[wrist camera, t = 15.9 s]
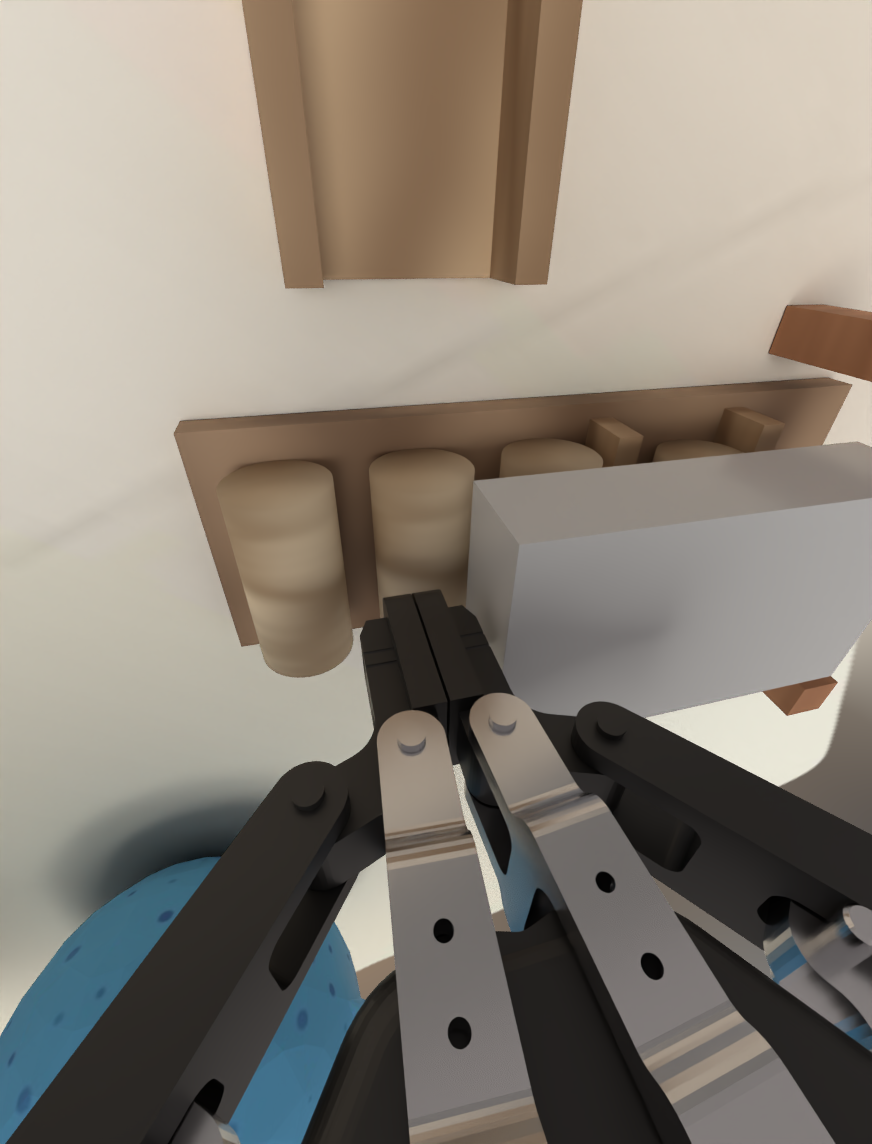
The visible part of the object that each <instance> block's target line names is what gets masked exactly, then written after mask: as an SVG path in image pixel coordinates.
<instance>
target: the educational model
mask: <svg viewBox="0 0 872 1144" xmlns="http://www.w3.org/2000/svg"><path fill="white" fill-rule="evenodd" d="M220 858H221V857H204V858H200V859H195V860H191V861H187V862H183V863H178V864H174V865H172V866H170V867H167V868H165V869H163V870H160V871H158V872H156V873H153V874H151V875H149V876H148V877H146V878H144V879H143V880H141V881H140V882H138V883H137V884H135V885H133V886H132V887H130V888H129V889H127V890H125V891H124V892H122V893H121V894H119V895H118V896H116V897H115V898H113V899H112V900H111V901H109V902H108V903H107V904H105V905H104V906H103V907H101V908H100V909H98V910H97V911H96V912H94V913H93V914H92V915H91V916H90V917H89V918H88V919H87V920H86V921H85V922H84V923H83V924H82V925H81V926H80V927H79V928H78V929H77V930H76V931H75V932H74V933H73V934H72V935H71V936H70V937H69V938H68V939H67V940H66V941H65V942H64V943H63V945H62V946H61V947H60V949H59V950H58V951H57V953H56V954H55V955H54V957H53V958H52V959H51V961H50V962H49V963H48V965H47V966H46V967H45V969H44V970H43V971H42V973H41V974H40V975H39V977H38V978H37V979H36V981H35V982H34V983H33V985H32V986H31V987H30V989H29V990H28V991H27V993H26V994H25V995H24V996H23V998H22V999H21V1001H20V1003H19V1005H18V1006H17V1008H16V1010H15V1011H14V1013H13V1015H12V1017H11V1018H10V1020H9V1022H8V1024H7V1025H6V1027H5V1029H4V1030H3V1032H2V1034H1V1036H0V1144H5V1143H6V1142H7V1141H8V1139H9V1138H10V1137H11V1135H12V1134H13V1133H14V1131H15V1130H16V1129H17V1127H18V1126H19V1125H20V1123H21V1122H22V1121H23V1119H24V1118H25V1117H26V1115H27V1114H28V1113H29V1111H30V1110H31V1109H32V1107H33V1106H34V1105H35V1103H36V1102H37V1101H38V1099H39V1098H40V1097H41V1095H42V1094H43V1093H44V1091H45V1090H46V1089H47V1088H48V1086H49V1085H50V1084H51V1082H52V1081H53V1080H54V1078H55V1077H56V1076H57V1074H58V1073H59V1072H60V1070H61V1069H62V1068H63V1066H64V1065H65V1064H66V1062H67V1061H68V1060H69V1058H70V1057H71V1056H72V1054H73V1053H74V1052H75V1050H76V1049H77V1048H78V1046H79V1045H80V1044H81V1042H82V1041H83V1040H84V1038H85V1037H86V1036H87V1034H88V1033H89V1032H90V1030H91V1029H92V1028H93V1026H94V1025H95V1024H96V1022H97V1021H98V1020H99V1018H100V1017H101V1016H102V1014H103V1013H104V1012H105V1010H106V1009H107V1008H108V1006H109V1005H110V1004H111V1002H112V1001H113V1000H114V999H115V997H116V996H117V995H118V993H119V992H120V991H121V989H122V988H123V987H124V985H125V984H126V983H127V981H128V980H129V979H130V977H131V976H132V975H133V973H134V972H135V971H136V969H137V968H138V967H139V965H140V964H141V963H142V961H143V960H144V959H145V957H146V956H147V955H148V953H149V952H150V951H151V949H152V948H153V947H154V945H155V944H156V943H157V941H158V940H159V939H160V937H161V936H162V935H163V933H164V932H165V931H166V929H167V928H168V927H169V925H170V924H171V923H172V921H173V920H174V919H175V917H176V916H177V915H178V914H179V912H180V911H181V910H182V908H183V907H184V906H185V904H186V903H187V902H188V900H189V899H190V898H191V896H192V895H193V894H194V892H195V891H196V890H197V888H198V887H199V886H200V884H201V883H202V882H203V880H204V879H205V878H206V876H207V875H208V874H209V872H210V871H211V870H212V868H213V867H214V866H215V864H216V863H217V862H218V860H219V859H220ZM364 1002H365V1000H364V999H362V998H361V996H360V991H359V986H358V981H357V976H356V972H355V969H354V965H353V962H352V958H351V955H350V951H349V949H348V947H347V945H346V943H345V941H344V939H343V937H342V935H341V933H340V931H339V929H338V927H337V926H336V924H335V922H334V923H333V924H332V926H331V928H330V930H329V932H328V934H327V936H326V938H325V940H324V942H323V944H322V946H321V947H320V949H319V951H318V953H317V955H316V957H315V959H314V961H313V963H312V965H311V967H310V968H309V970H308V972H307V974H306V976H305V978H304V980H303V982H302V984H301V986H300V988H299V990H298V991H297V993H296V995H295V997H294V999H293V1001H292V1003H291V1005H290V1007H289V1009H288V1011H287V1013H286V1014H285V1016H284V1018H283V1020H282V1022H281V1024H280V1026H279V1028H278V1030H277V1032H276V1034H275V1036H274V1037H273V1039H272V1041H271V1043H270V1045H269V1047H268V1049H267V1051H266V1053H265V1055H264V1057H263V1058H262V1060H261V1062H260V1064H259V1066H258V1068H257V1070H256V1072H255V1074H254V1076H253V1078H252V1080H251V1081H250V1083H249V1085H248V1087H247V1089H246V1091H245V1093H244V1095H243V1097H242V1099H241V1101H240V1103H239V1104H238V1106H237V1108H236V1110H235V1112H234V1114H233V1116H232V1118H231V1120H230V1122H229V1125H230V1126H231V1127H232V1128H233V1129H234V1131H235V1133H236V1134H237V1136H238V1138H239V1141H240V1143H241V1144H301V1142H302V1140H303V1137H304V1135H305V1132H306V1130H307V1128H308V1125H309V1123H310V1120H311V1118H312V1115H313V1113H314V1110H315V1108H316V1105H317V1103H318V1100H319V1098H320V1095H321V1093H322V1090H323V1088H324V1085H325V1083H326V1081H327V1078H328V1076H329V1073H330V1071H331V1068H332V1066H333V1063H334V1061H335V1058H336V1056H337V1053H338V1051H339V1048H340V1046H341V1044H342V1041H343V1039H344V1037H345V1034H346V1032H347V1030H348V1028H349V1026H350V1025H351V1023H352V1021H353V1019H354V1017H355V1015H356V1013H357V1012H358V1010H359V1009H360V1008H361V1006H362V1005H363V1003H364Z"/></svg>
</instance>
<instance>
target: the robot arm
mask: <svg viewBox="0 0 872 1144" xmlns="http://www.w3.org/2000/svg"><path fill="white" fill-rule="evenodd" d="M383 614H384V618H380V619H373V620H367V621H366V622H365V624H364V627H363V630H362V632H361V635H360V640H361V648H362V656H363V665H364V673H365V680H366V686H367V692H368V697H369V703H370V708H371V715H372V720H373V726H374V732H373V734H372V737H371V739H370V740H369V742H368V743H367V745H366V746H365V747H364V748H363V749H362V750H361V751H360V752H358V753H357V754H356V755H354V756H353V757H351V758H349V759H347V760H346V761H344V762H342V763H340V764H338V765H337V766H333V765H332V764H329V763H326V762H321V761H312V762H306V763H303V764H300V765H298V766H296V767H294V768H292V769H291V770H289V771H288V772H287V773H285V774H284V775H283V776H282V777H281V778H280V780H279V781H278V782H277V783H276V785H275V786H274V787H273V789H272V790H271V791H270V793H269V794H268V795H267V797H266V798H265V799H264V801H263V802H262V803H261V805H260V806H259V807H258V809H257V810H256V811H255V813H254V814H253V815H252V817H251V818H250V819H249V821H248V822H247V823H246V825H245V826H244V827H243V829H242V830H241V831H240V832H239V834H238V835H237V836H236V838H235V839H234V840H233V842H232V843H231V844H230V846H229V847H228V848H227V850H226V851H225V852H224V854H223V855H222V856H221V858H220V859H219V860H218V862H217V863H216V864H215V866H214V867H213V868H212V870H211V871H210V872H209V874H208V875H207V876H206V878H205V879H204V880H203V882H202V883H201V884H200V886H199V887H198V888H197V890H196V891H195V892H194V894H193V895H192V896H191V898H190V899H189V900H188V902H187V903H186V904H185V906H184V907H183V908H182V910H181V911H180V912H179V914H178V915H177V916H176V917H175V919H174V920H173V921H172V923H171V924H170V925H169V927H168V928H167V929H166V931H165V932H164V933H163V935H162V936H161V937H160V939H159V940H158V941H157V943H156V944H155V945H154V947H153V948H152V949H151V951H150V952H149V953H148V955H147V956H146V957H145V959H144V960H143V961H142V963H141V964H140V965H139V967H138V968H137V969H136V971H135V972H134V973H133V975H132V976H131V977H130V979H129V980H128V981H127V983H126V984H125V985H124V987H123V988H122V989H121V991H120V992H119V993H118V995H117V996H116V997H115V999H114V1000H113V1001H112V1002H111V1004H110V1005H109V1006H108V1008H107V1009H106V1010H105V1012H104V1013H103V1014H102V1016H101V1017H100V1018H99V1020H98V1021H97V1022H96V1024H95V1025H94V1026H93V1028H92V1029H91V1030H90V1032H89V1033H88V1034H87V1036H86V1037H85V1038H84V1040H83V1041H82V1042H81V1044H80V1045H79V1046H78V1048H77V1049H76V1050H75V1052H74V1053H73V1054H72V1056H71V1057H70V1058H69V1060H68V1061H67V1062H66V1064H65V1065H64V1066H63V1068H62V1069H61V1070H60V1072H59V1073H58V1074H57V1076H56V1077H55V1078H54V1080H53V1081H52V1082H51V1084H50V1085H49V1086H48V1088H47V1089H46V1090H45V1091H44V1093H43V1094H42V1095H41V1097H40V1098H39V1099H38V1101H37V1102H36V1103H35V1105H34V1106H33V1107H32V1109H31V1110H30V1111H29V1113H28V1114H27V1115H26V1117H25V1118H24V1119H23V1121H22V1122H21V1123H20V1125H19V1126H18V1127H17V1129H16V1130H15V1131H14V1133H13V1134H12V1135H11V1137H10V1138H9V1139H8V1141H7V1142H6V1143H5V1144H241V1143H240V1141H239V1138H238V1136H237V1134H236V1133H235V1131H234V1129H233V1128H232V1127H231V1126H230V1125H229V1122H230V1120H231V1118H232V1116H233V1114H234V1112H235V1110H236V1108H237V1106H238V1104H239V1103H240V1101H241V1099H242V1097H243V1095H244V1093H245V1091H246V1089H247V1087H248V1085H249V1083H250V1081H251V1080H252V1078H253V1076H254V1074H255V1072H256V1070H257V1068H258V1066H259V1064H260V1062H261V1060H262V1058H263V1057H264V1055H265V1053H266V1051H267V1049H268V1047H269V1045H270V1043H271V1041H272V1039H273V1037H274V1036H275V1034H276V1032H277V1030H278V1028H279V1026H280V1024H281V1022H282V1020H283V1018H284V1016H285V1014H286V1013H287V1011H288V1009H289V1007H290V1005H291V1003H292V1001H293V999H294V997H295V995H296V993H297V991H298V990H299V988H300V986H301V984H302V982H303V980H304V978H305V976H306V974H307V972H308V970H309V968H310V967H311V965H312V963H313V961H314V959H315V957H316V955H317V953H318V951H319V949H320V947H321V946H322V944H323V942H324V940H325V938H326V936H327V934H328V932H329V930H330V928H331V926H332V924H333V923H334V921H335V919H336V917H337V915H338V913H339V911H340V909H341V907H342V905H343V903H344V901H345V900H346V898H347V896H348V894H349V892H350V890H351V888H352V886H353V884H354V882H355V880H356V878H357V876H358V874H359V872H360V871H362V870H363V869H365V868H366V867H368V866H369V865H371V864H372V863H374V862H375V861H376V860H378V859H379V858H381V857H382V856H384V855H385V854H386V862H387V874H388V886H389V898H390V910H391V922H392V934H393V946H394V957H395V970H394V971H392V972H391V973H390V974H389V975H388V976H387V977H386V978H385V979H384V980H383V981H381V982H380V983H379V984H378V986H377V987H376V988H375V989H374V990H373V991H372V993H371V994H370V995H369V996H368V997H367V999H366V1000H365V1002H364V1003H363V1005H362V1006H361V1008H360V1009H359V1010H358V1012H357V1013H356V1015H355V1017H354V1019H353V1021H352V1023H351V1025H350V1026H349V1028H348V1030H347V1032H346V1034H345V1037H344V1039H343V1041H342V1044H341V1046H340V1048H339V1051H338V1053H337V1056H336V1058H335V1061H334V1063H333V1066H332V1068H331V1071H330V1073H329V1076H328V1078H327V1081H326V1083H325V1085H324V1088H323V1090H322V1093H321V1095H320V1098H319V1100H318V1103H317V1105H316V1108H315V1110H314V1113H313V1115H312V1118H311V1120H310V1123H309V1125H308V1128H307V1130H306V1132H305V1135H304V1137H303V1140H302V1142H301V1144H872V835H871V834H869V833H867V832H865V831H863V830H861V829H859V828H857V827H856V826H854V825H852V824H850V823H848V822H846V821H844V820H842V819H840V818H838V817H836V816H834V815H832V814H830V813H828V812H826V811H824V810H822V809H820V808H819V807H816V806H814V805H813V804H811V803H809V802H807V801H805V800H803V799H801V798H799V797H797V796H795V795H793V794H791V793H789V792H787V791H785V790H783V789H782V788H780V787H778V786H776V785H774V784H772V783H770V782H768V781H766V780H764V779H762V778H760V777H758V776H756V775H754V774H752V773H750V772H748V771H746V770H745V769H743V768H741V767H739V766H737V765H735V764H733V763H731V762H729V761H727V760H725V759H723V758H721V757H719V756H717V755H715V754H713V753H711V752H709V751H708V750H706V749H704V748H702V747H700V746H698V745H696V744H694V743H692V742H690V741H688V740H686V739H684V738H682V737H680V736H678V735H676V734H674V733H672V732H670V731H669V730H667V729H665V728H663V727H661V726H659V725H657V724H655V723H653V722H651V721H649V720H647V719H645V718H643V717H641V716H639V715H637V714H635V713H633V712H632V711H630V710H628V709H626V708H624V707H622V706H619V705H617V704H614V703H611V702H604V701H598V702H592V703H589V704H587V705H585V706H583V707H582V708H581V709H580V710H579V712H578V714H577V716H568V715H557V714H547V713H542V712H538V711H536V710H533V709H531V708H530V707H529V706H528V705H527V704H526V703H525V702H524V701H523V700H521V699H520V698H518V697H516V696H515V695H514V694H513V692H512V690H511V689H510V686H509V684H508V682H507V680H506V678H505V676H504V674H503V672H502V670H501V668H500V666H499V664H498V661H497V659H496V657H495V655H494V653H493V651H492V649H491V647H490V646H489V643H488V641H487V638H486V636H485V634H483V630H482V628H481V626H480V624H479V622H478V620H477V618H476V616H475V615H473V614H472V613H471V612H470V611H469V610H468V609H466V608H465V607H464V606H463V605H460V606H453V607H448V606H447V603H446V601H445V599H444V596H443V594H442V592H441V590H440V589H436V590H429V591H423V592H416V593H412V595H411V594H404V595H397V596H390V597H384V598H383ZM456 764H460V766H461V769H462V772H463V775H464V778H465V783H464V794H465V797H466V800H467V803H468V805H469V808H470V811H471V813H472V816H473V818H474V821H475V823H476V826H477V828H478V831H479V833H480V836H481V838H482V841H483V843H484V846H485V848H486V851H487V854H488V856H489V859H490V861H491V864H492V866H493V869H494V871H495V874H496V876H497V879H498V883H499V886H500V891H501V897H502V903H503V907H504V911H505V915H506V918H507V921H508V924H509V927H510V929H511V932H501V931H498V932H497V931H495V928H494V924H493V919H492V915H491V911H490V906H489V902H488V897H487V893H486V889H485V884H484V880H483V876H482V871H481V867H480V862H479V858H478V854H477V850H476V846H475V842H474V839H473V836H472V834H471V831H470V830H468V829H467V827H466V824H465V820H464V816H463V811H462V807H461V802H460V798H459V793H458V789H457V784H456V779H455V775H454V770H453V766H452V765H456ZM652 876H653V877H654V878H656V879H657V880H659V881H660V882H662V883H663V884H665V885H666V886H668V887H669V888H671V889H672V890H674V891H675V892H677V893H678V894H680V895H681V896H683V897H684V898H686V899H687V900H689V901H690V902H692V903H693V904H695V905H696V906H698V907H699V908H701V909H702V910H704V911H705V912H707V913H708V914H710V915H711V916H713V917H714V918H716V919H717V920H719V921H720V922H722V923H723V924H725V925H726V926H728V927H729V928H731V929H732V930H734V931H735V932H736V933H738V934H740V935H741V936H742V937H744V938H745V939H747V940H749V941H750V942H751V943H753V944H754V945H756V946H758V947H759V948H760V949H762V950H764V951H765V956H766V959H767V961H768V964H769V966H770V972H771V976H772V979H773V980H771V979H770V978H769V977H768V976H766V975H765V974H763V973H762V972H761V971H759V970H758V969H757V968H755V967H754V966H752V965H751V964H750V963H748V962H747V961H745V960H744V959H743V958H741V957H740V956H739V955H737V954H736V953H734V952H733V951H732V950H730V949H729V948H728V947H726V946H725V945H723V944H722V943H720V942H719V941H718V940H716V939H715V938H714V937H712V936H711V935H710V934H708V933H707V932H706V931H704V930H703V929H701V928H700V927H699V926H697V925H696V924H694V923H693V922H691V921H690V920H689V919H687V918H685V917H683V916H682V915H680V914H678V913H676V912H675V911H673V910H672V908H671V907H670V905H669V903H668V902H667V900H666V899H665V897H664V896H663V894H662V892H661V891H660V889H659V888H658V886H657V884H656V883H655V881H654V880H653V878H652Z"/></svg>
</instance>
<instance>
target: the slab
mask: <svg viewBox="0 0 872 1144" xmlns="http://www.w3.org/2000/svg"><path fill="white" fill-rule="evenodd" d="M466 609H468V610H469V611H470V612H471V613H472V614H473V615H475V616H476V618H477V620H478V622H479V624H480V626H481V628H482V630H483V634H485V636H486V638H487V641H488V643H489V646H490V647H491V649H492V651H493V653H494V655H495V657H496V659H497V661H498V664H499V666H500V668H501V670H502V672H503V674H504V676H505V678H506V680H507V682H508V684H509V686H510V689H511V690H512V692H513V694H514V695H515V696H516V697H518V698H520V699H521V700H523V701H524V702H525V703H526V704H527V705H528V706H529V707H530V708H531V709H533V710H536V711H538V712H542V713H547V714H557V715H568V716H577V714H578V712H579V710H580V709H581V708H582V707H583V706H585V705H587V704H589V703H592V702H598V701H604V702H611V703H614V704H617V705H619V706H622V707H624V708H626V709H628V710H630V711H632V712H633V713H635V714H637V715H639V716H641V717H643V718H646V717H650V716H655V715H659V714H664V713H668V712H672V711H677V710H681V709H686V708H690V707H695V706H699V705H704V704H708V703H713V702H717V701H722V700H726V699H731V698H735V697H739V696H744V695H748V694H753V693H757V692H762V691H766V690H771V689H775V688H780V687H784V686H789V685H793V684H798V683H802V682H806V681H811V680H815V679H820V678H824V677H829V676H831V675H832V673H833V672H834V671H835V669H836V668H837V667H838V665H839V664H840V662H841V661H842V660H843V658H844V657H845V656H846V654H847V653H848V651H849V650H850V649H851V647H852V646H853V645H854V643H855V642H856V640H857V639H858V638H859V636H860V635H861V633H862V632H863V631H864V629H865V628H866V626H867V625H868V624H869V622H870V621H871V620H872V447H870V446H867V445H865V444H862V443H860V442H849V443H839V444H829V445H819V446H809V447H800V448H790V449H780V450H770V451H760V452H751V453H741V454H731V455H721V456H711V457H702V458H692V459H682V460H672V461H662V462H653V463H643V464H633V465H623V466H613V467H604V468H594V469H584V470H574V471H564V472H555V473H545V474H535V475H525V476H515V477H506V478H496V479H486V480H476V481H473V496H472V512H471V529H470V545H469V562H468V578H467V595H466Z"/></svg>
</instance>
